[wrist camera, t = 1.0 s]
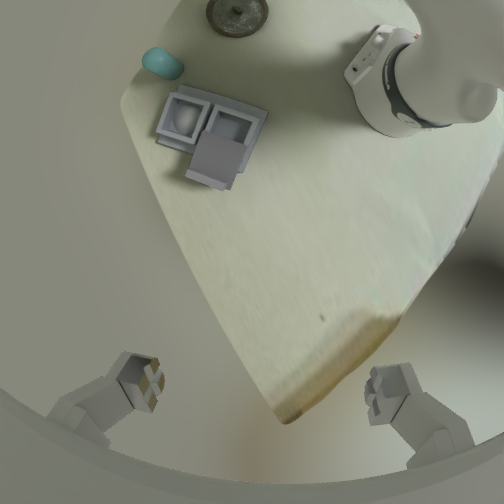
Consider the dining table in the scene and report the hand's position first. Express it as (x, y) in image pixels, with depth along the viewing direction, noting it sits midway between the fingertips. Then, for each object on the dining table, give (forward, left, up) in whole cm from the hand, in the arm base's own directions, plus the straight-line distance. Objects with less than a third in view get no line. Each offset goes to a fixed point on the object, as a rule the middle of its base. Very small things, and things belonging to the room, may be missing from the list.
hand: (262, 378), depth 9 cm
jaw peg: (-15, -26, -39) cm, 49 cm away
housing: (-7, -15, -38) cm, 42 cm away
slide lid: (-2, -11, -34) cm, 36 cm away
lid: (-28, -19, -39) cm, 52 cm away
